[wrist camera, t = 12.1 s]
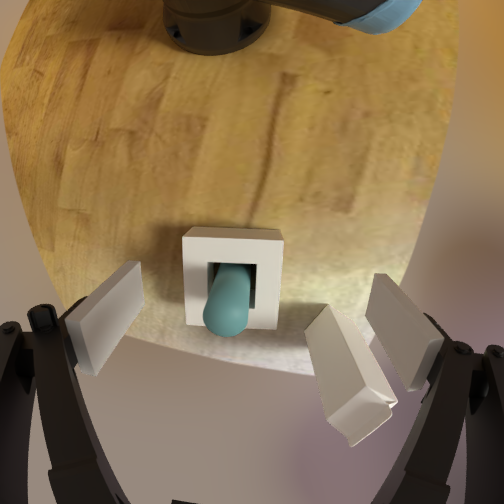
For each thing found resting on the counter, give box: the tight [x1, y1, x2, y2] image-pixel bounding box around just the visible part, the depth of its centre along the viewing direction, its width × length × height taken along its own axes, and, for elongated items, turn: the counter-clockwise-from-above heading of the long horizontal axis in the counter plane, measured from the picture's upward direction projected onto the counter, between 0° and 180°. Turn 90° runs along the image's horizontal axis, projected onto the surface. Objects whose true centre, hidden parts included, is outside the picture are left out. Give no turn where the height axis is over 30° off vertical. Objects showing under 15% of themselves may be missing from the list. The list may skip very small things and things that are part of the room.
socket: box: [182, 227, 284, 330], centre depth 39 cm, size 12×12×6 cm
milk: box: [304, 304, 398, 447], centre depth 34 cm, size 6×6×22 cm
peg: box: [203, 262, 251, 337], centre depth 35 cm, size 4×4×14 cm
